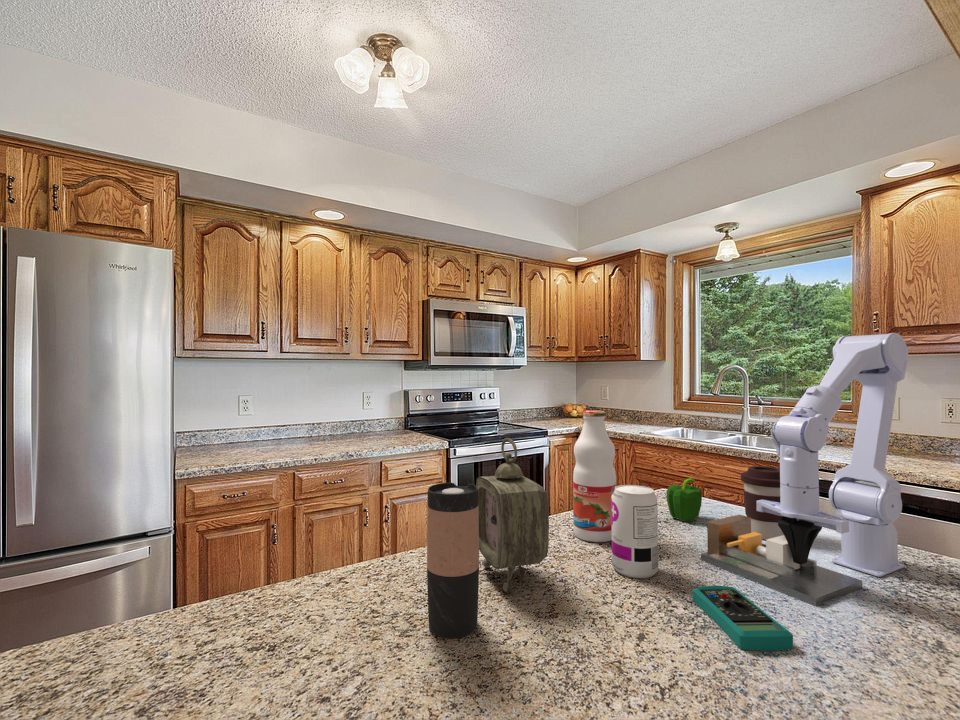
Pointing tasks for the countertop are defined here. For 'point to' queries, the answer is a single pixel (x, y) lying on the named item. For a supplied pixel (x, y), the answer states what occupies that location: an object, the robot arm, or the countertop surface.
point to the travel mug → (452, 559)
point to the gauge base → (772, 566)
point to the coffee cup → (762, 487)
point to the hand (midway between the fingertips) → (800, 562)
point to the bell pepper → (684, 501)
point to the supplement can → (634, 531)
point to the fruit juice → (593, 480)
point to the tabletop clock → (512, 519)
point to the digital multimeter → (742, 619)
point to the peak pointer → (748, 542)
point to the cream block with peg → (777, 551)
